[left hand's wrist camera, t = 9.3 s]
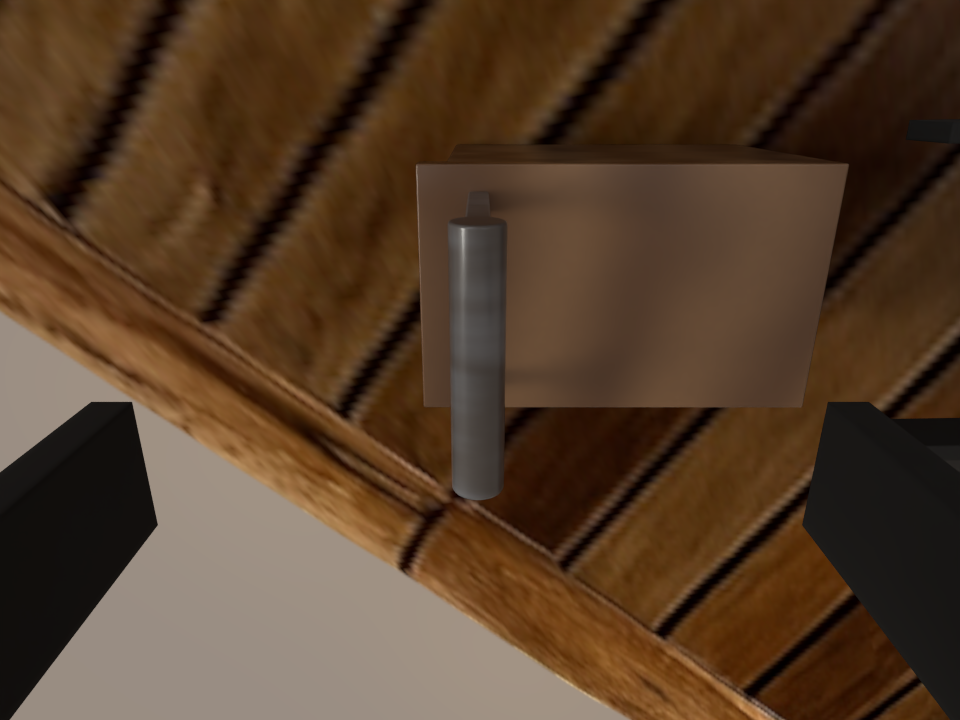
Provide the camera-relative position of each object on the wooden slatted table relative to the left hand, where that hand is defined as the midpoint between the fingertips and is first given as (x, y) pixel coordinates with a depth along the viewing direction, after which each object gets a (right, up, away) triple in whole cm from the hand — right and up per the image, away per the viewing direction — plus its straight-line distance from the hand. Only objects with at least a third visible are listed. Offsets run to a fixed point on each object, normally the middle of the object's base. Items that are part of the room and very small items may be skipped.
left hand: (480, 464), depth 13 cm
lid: (+5, +5, +12) cm, 14 cm away
